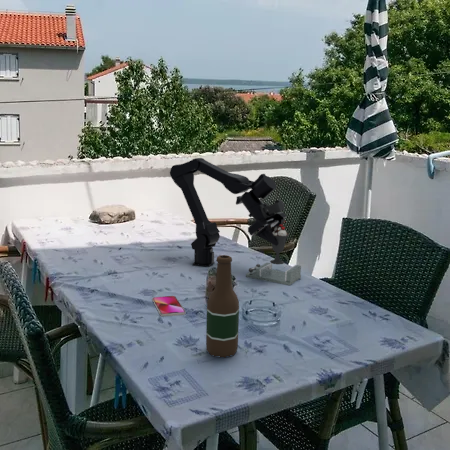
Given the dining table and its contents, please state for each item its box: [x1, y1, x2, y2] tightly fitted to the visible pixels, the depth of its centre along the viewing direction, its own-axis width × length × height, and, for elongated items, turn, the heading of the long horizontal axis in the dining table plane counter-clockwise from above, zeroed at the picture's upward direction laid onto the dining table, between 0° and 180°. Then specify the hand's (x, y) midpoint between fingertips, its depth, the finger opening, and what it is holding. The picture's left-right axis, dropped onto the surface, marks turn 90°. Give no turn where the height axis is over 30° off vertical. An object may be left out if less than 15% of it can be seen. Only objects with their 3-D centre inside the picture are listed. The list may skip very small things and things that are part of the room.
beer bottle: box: [205, 254, 240, 358], centre depth 132 cm, size 8×8×24 cm
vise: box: [245, 262, 302, 286], centre depth 192 cm, size 16×10×4 cm, turn 61°
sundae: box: [269, 219, 290, 265], centre depth 187 cm, size 7×7×15 cm
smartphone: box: [151, 295, 186, 318], centre depth 162 cm, size 7×1×15 cm
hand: (282, 243), depth 187 cm, fingers closed on sundae, 6 cm apart
